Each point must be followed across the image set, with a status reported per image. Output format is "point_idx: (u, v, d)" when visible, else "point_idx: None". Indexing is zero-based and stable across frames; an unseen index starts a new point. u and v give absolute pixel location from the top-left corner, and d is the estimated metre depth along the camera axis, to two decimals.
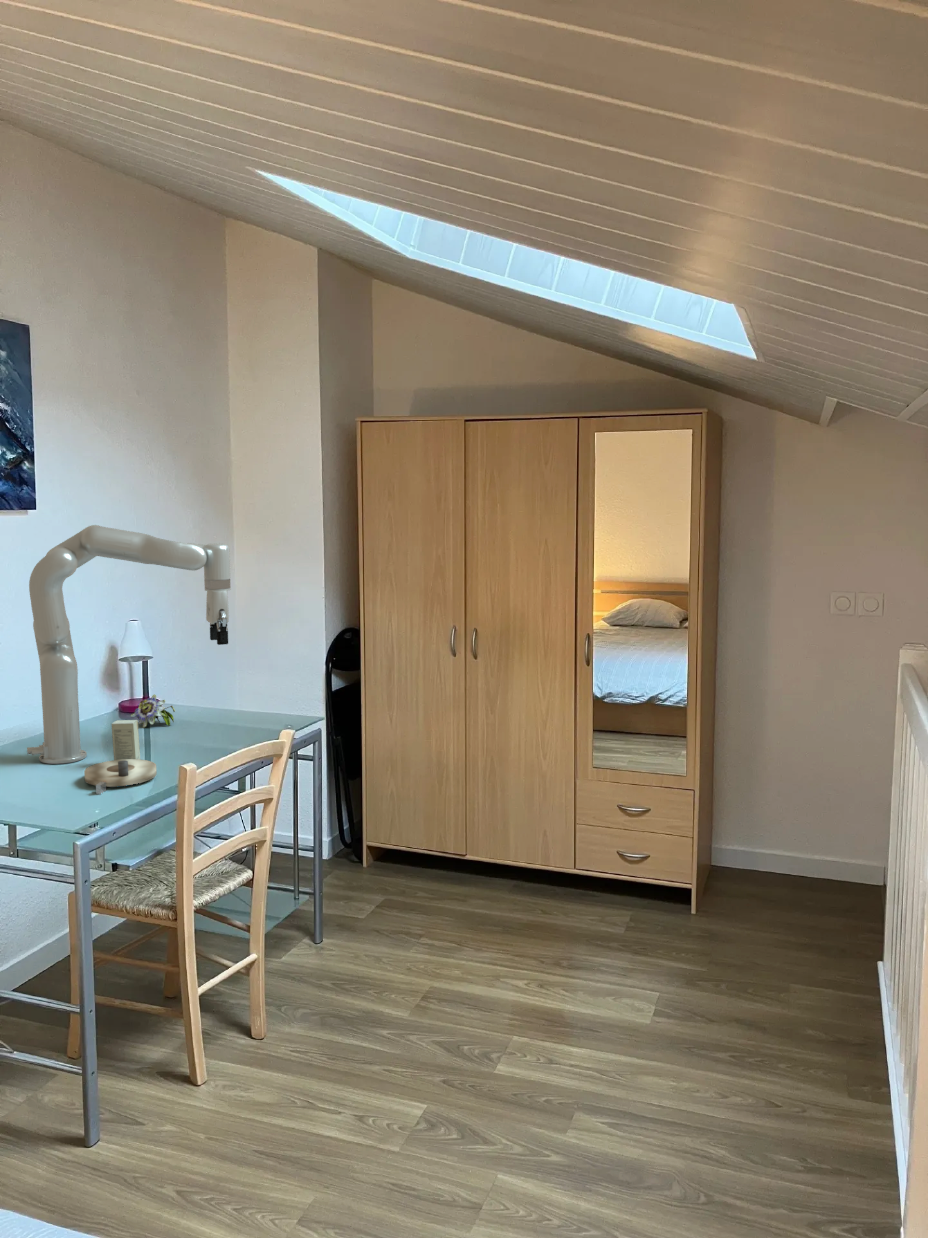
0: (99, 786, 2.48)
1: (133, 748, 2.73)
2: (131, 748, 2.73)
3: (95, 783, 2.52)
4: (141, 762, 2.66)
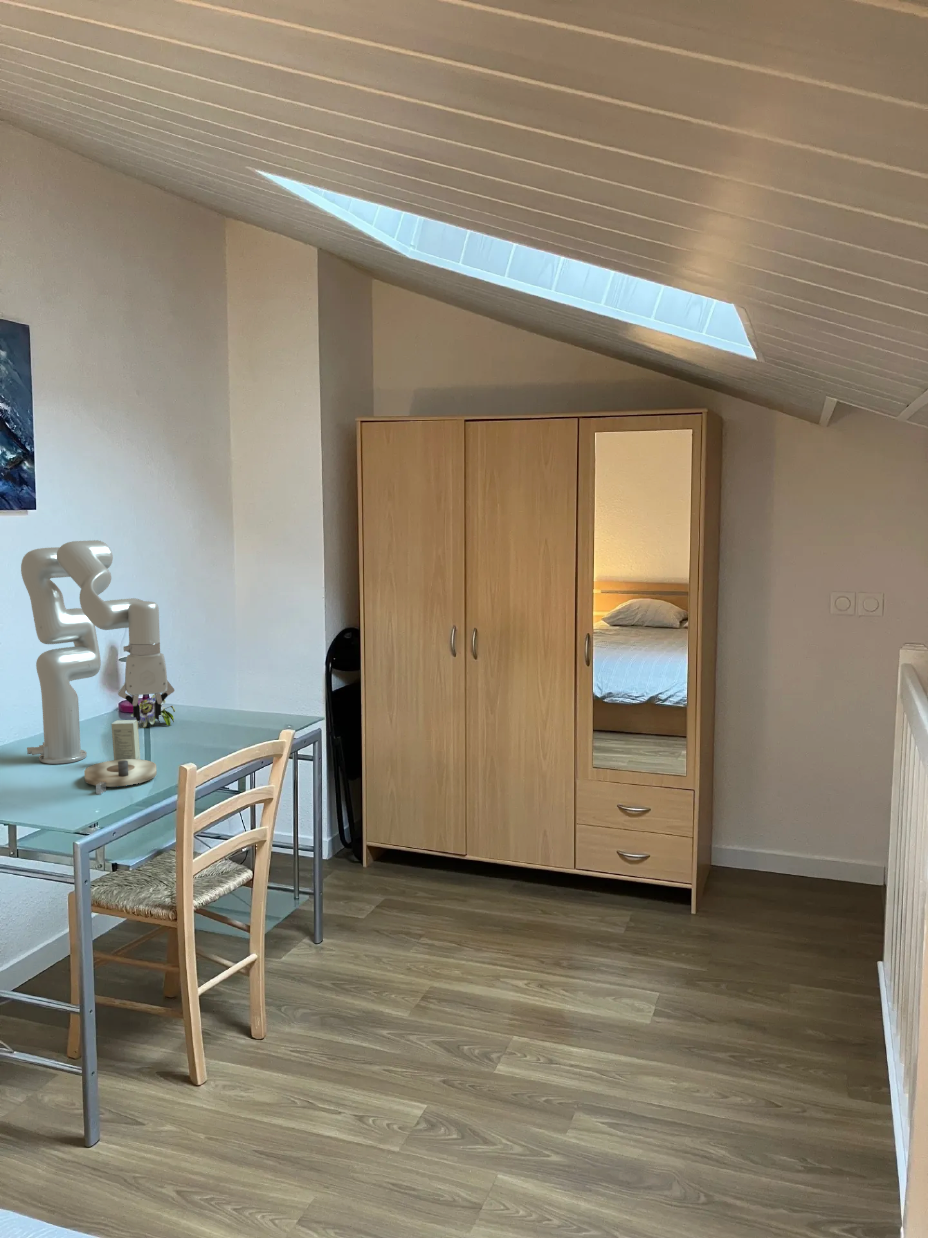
0: (99, 786, 2.48)
1: (133, 748, 2.73)
2: (130, 748, 2.73)
3: (95, 783, 2.52)
4: (141, 762, 2.66)
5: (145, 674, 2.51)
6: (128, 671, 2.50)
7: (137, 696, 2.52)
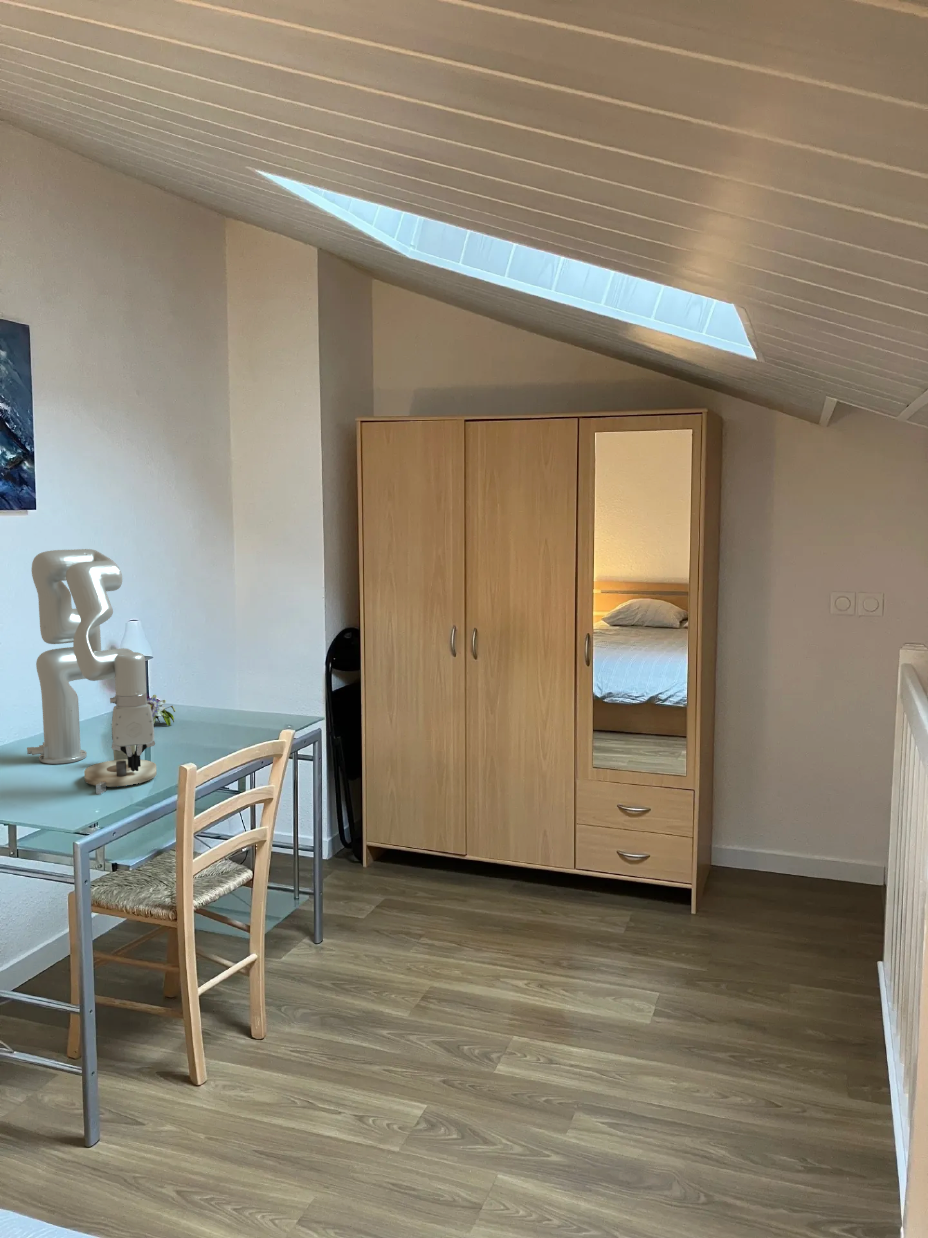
0: (99, 786, 2.48)
1: (133, 748, 2.73)
2: None
3: (93, 783, 2.53)
4: (142, 762, 2.66)
5: (132, 725, 2.51)
6: (115, 723, 2.50)
7: (129, 746, 2.53)
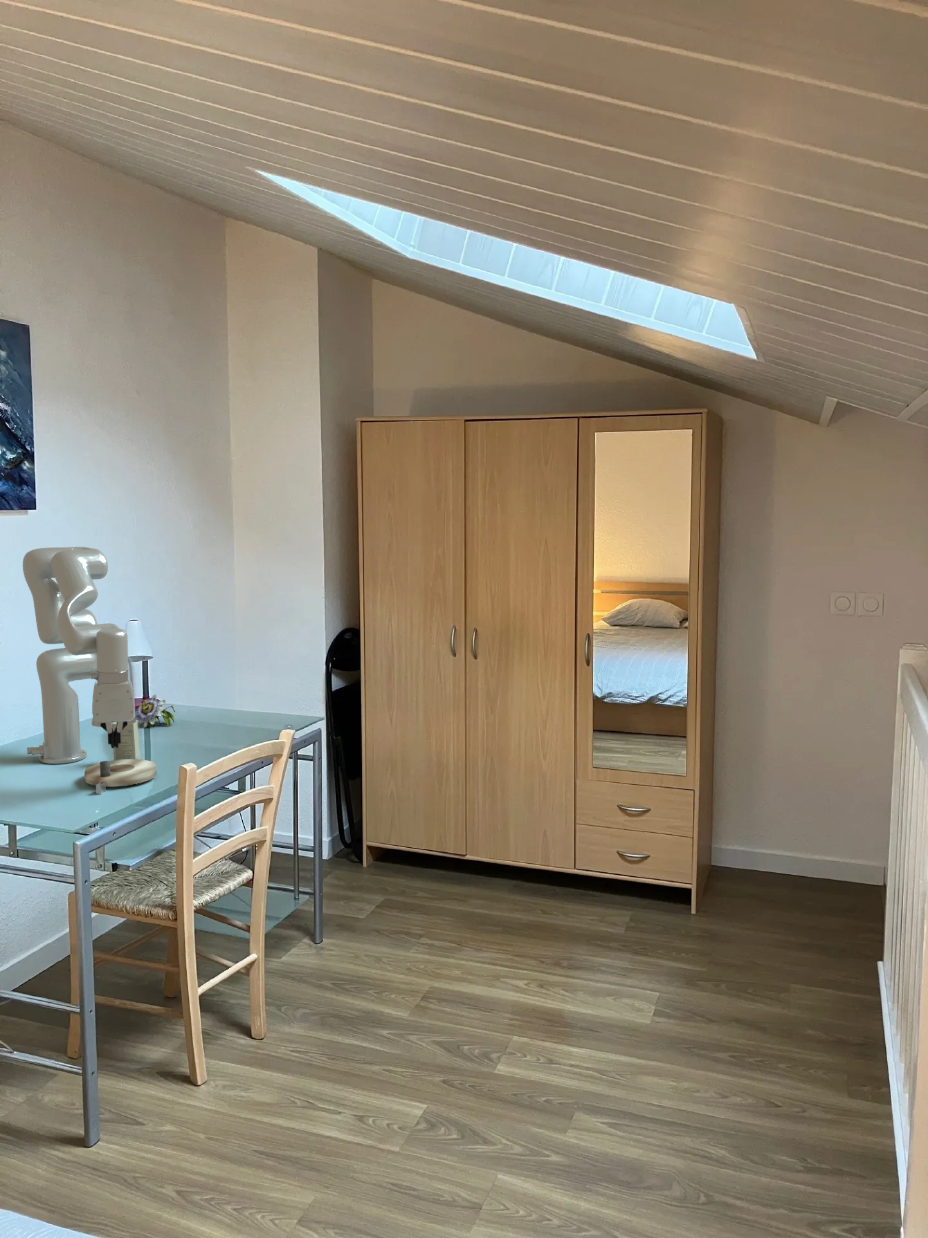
0: (99, 786, 2.48)
1: (133, 748, 2.73)
2: (131, 748, 2.73)
3: None
4: (147, 766, 2.63)
5: (112, 702, 2.49)
6: (95, 699, 2.47)
7: (109, 723, 2.51)
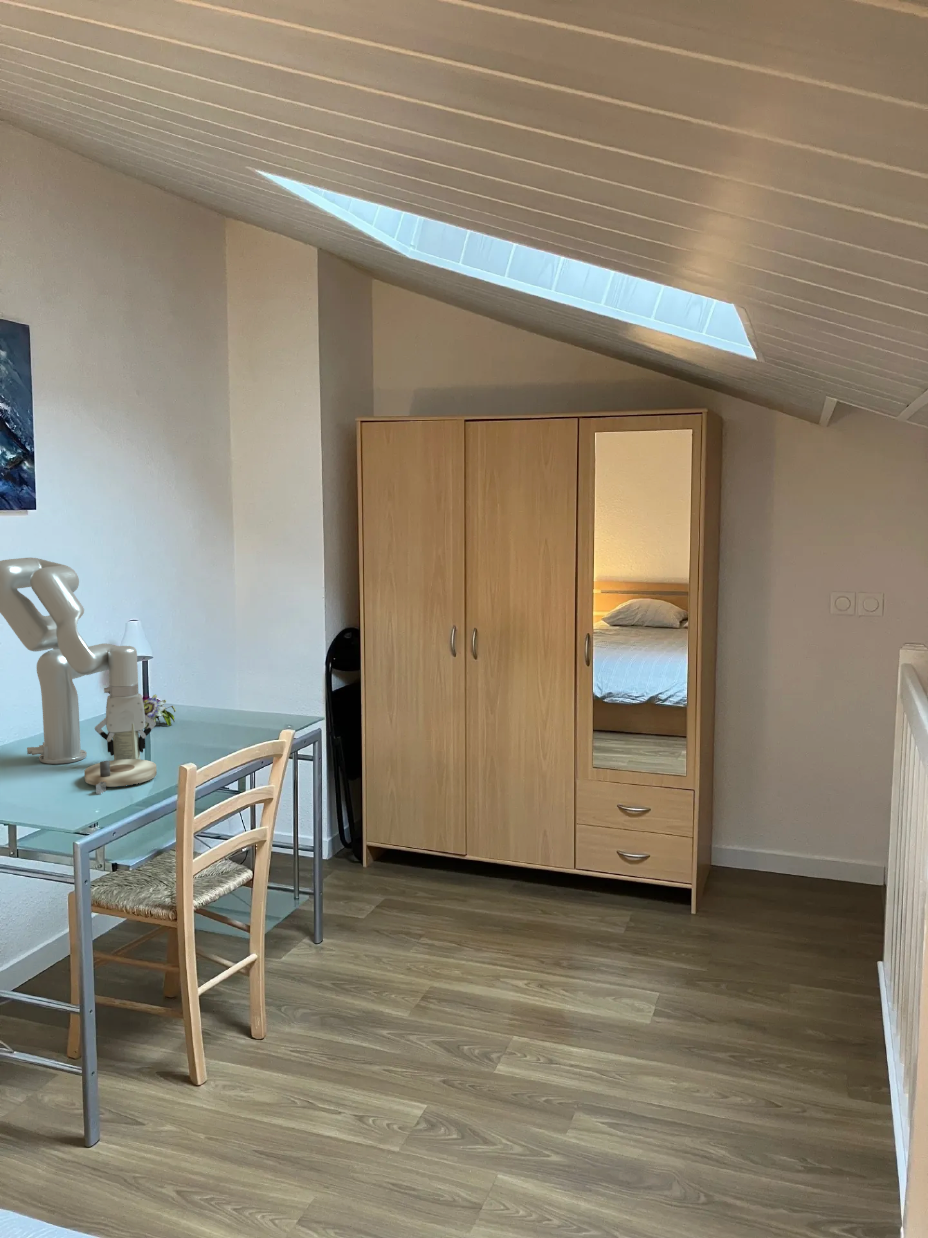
0: (99, 786, 2.48)
1: (133, 748, 2.73)
2: (131, 748, 2.73)
3: None
4: (147, 766, 2.63)
5: (124, 714, 2.71)
6: (108, 711, 2.69)
7: (113, 733, 2.72)
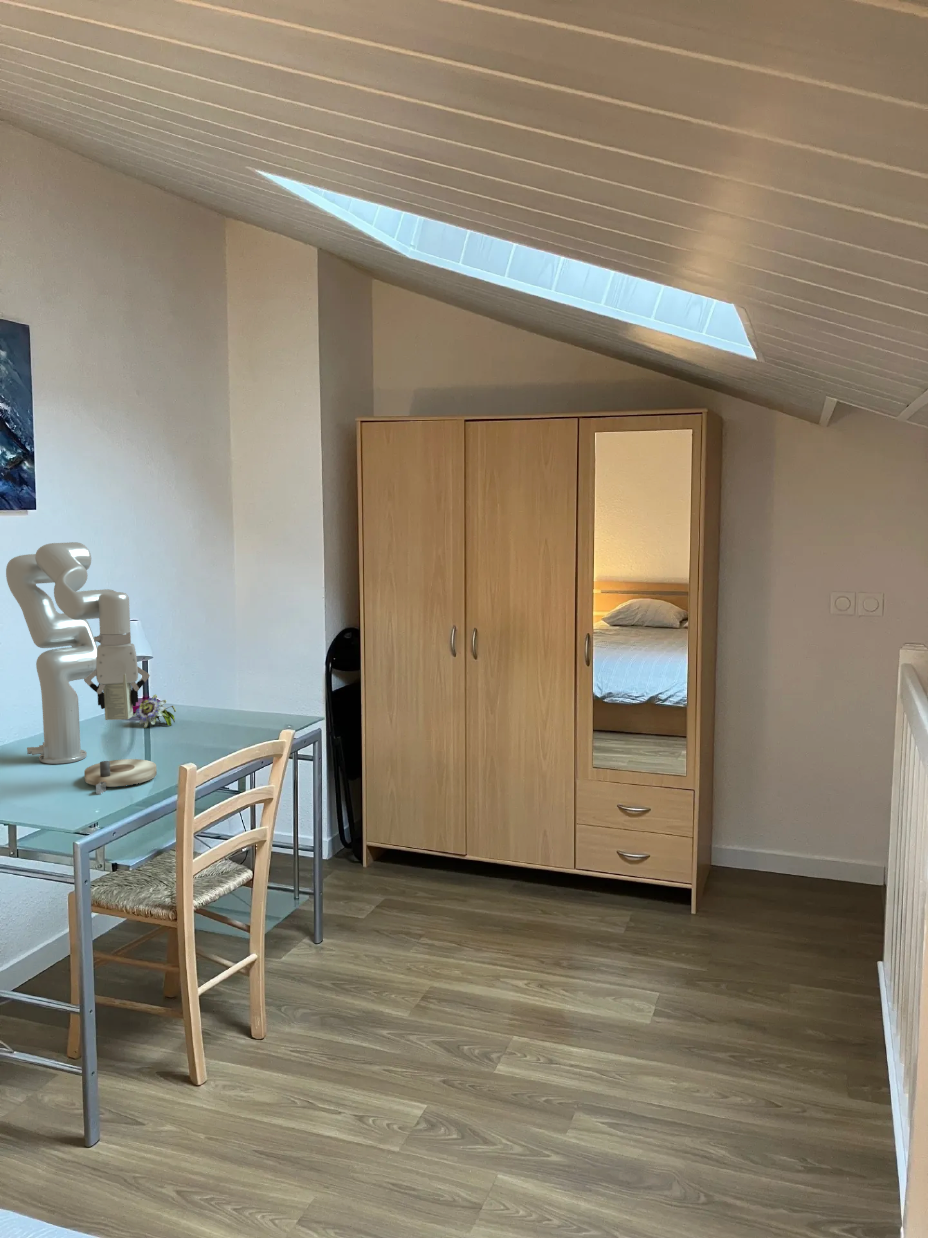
0: (99, 786, 2.48)
1: (125, 701, 2.56)
2: (122, 701, 2.56)
3: None
4: (147, 766, 2.63)
5: (115, 664, 2.54)
6: (99, 661, 2.53)
7: (104, 685, 2.55)
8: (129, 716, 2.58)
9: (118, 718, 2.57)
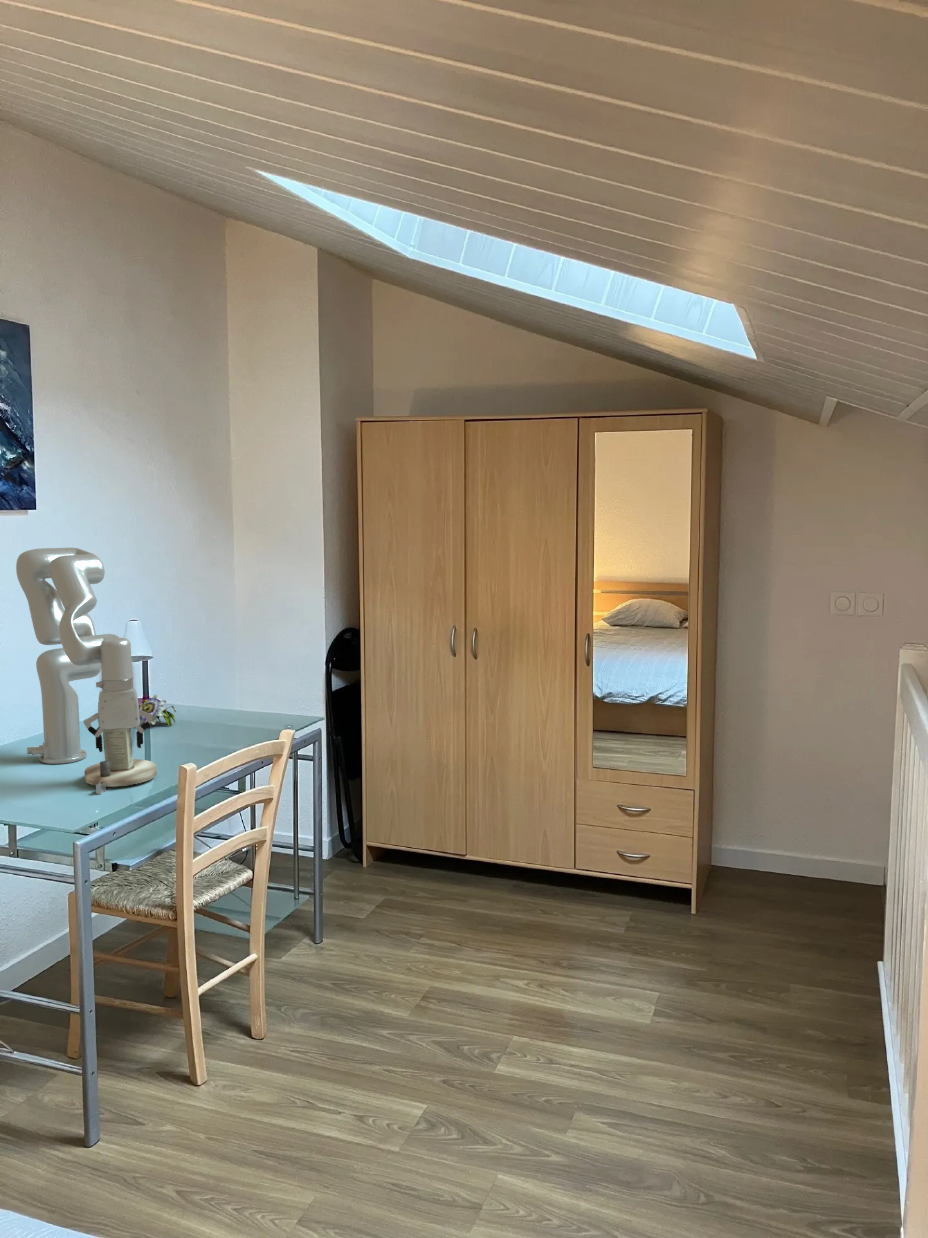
0: (99, 786, 2.48)
1: (125, 752, 2.58)
2: (123, 751, 2.58)
3: None
4: (147, 766, 2.63)
5: (117, 709, 2.55)
6: (100, 707, 2.54)
7: None
8: (129, 766, 2.59)
9: (118, 768, 2.58)
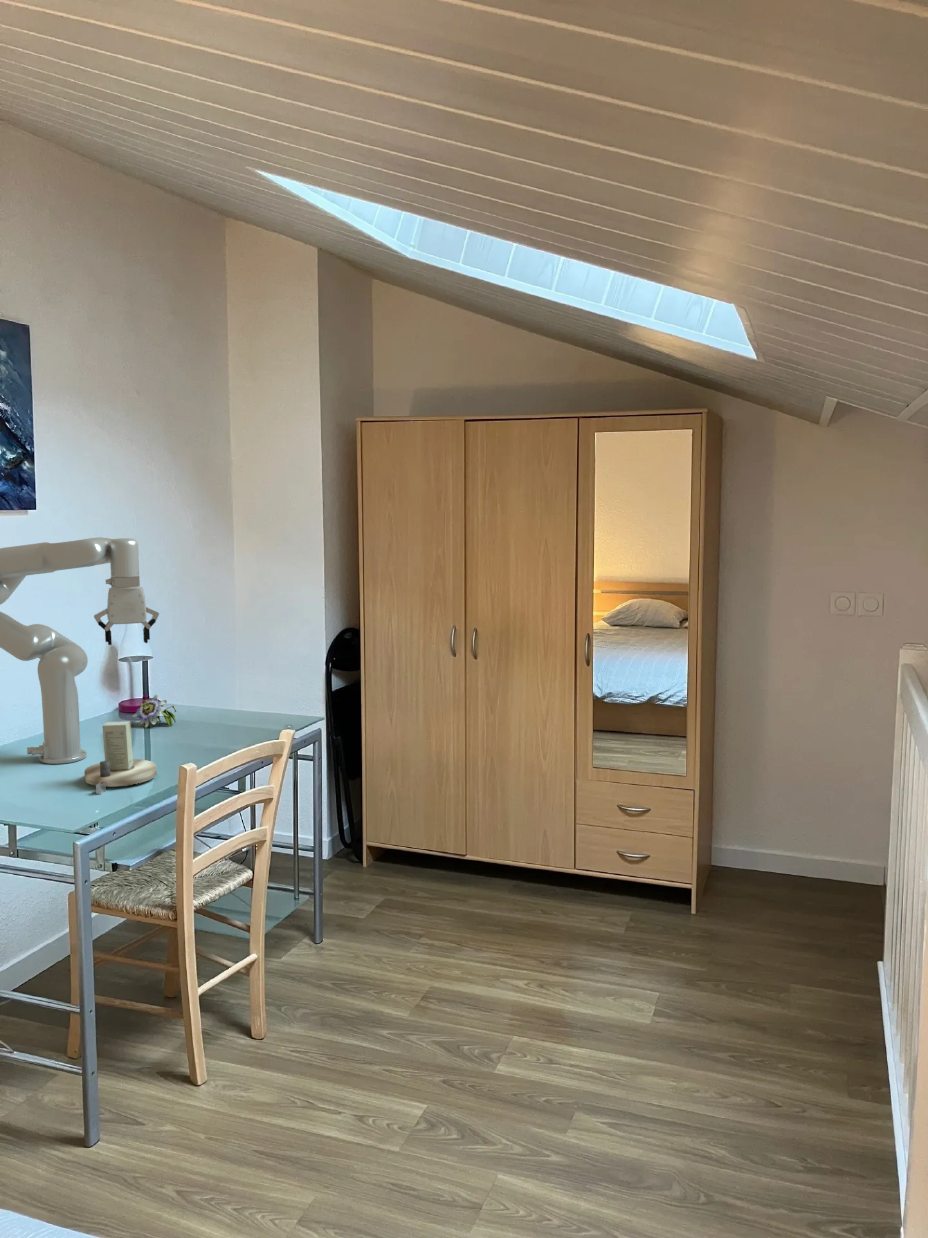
0: (99, 786, 2.48)
1: (125, 752, 2.58)
2: (123, 751, 2.58)
3: None
4: (147, 766, 2.63)
5: (125, 605, 2.72)
6: (110, 602, 2.71)
7: (112, 623, 2.73)
8: (129, 766, 2.59)
9: (118, 768, 2.58)
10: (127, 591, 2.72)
